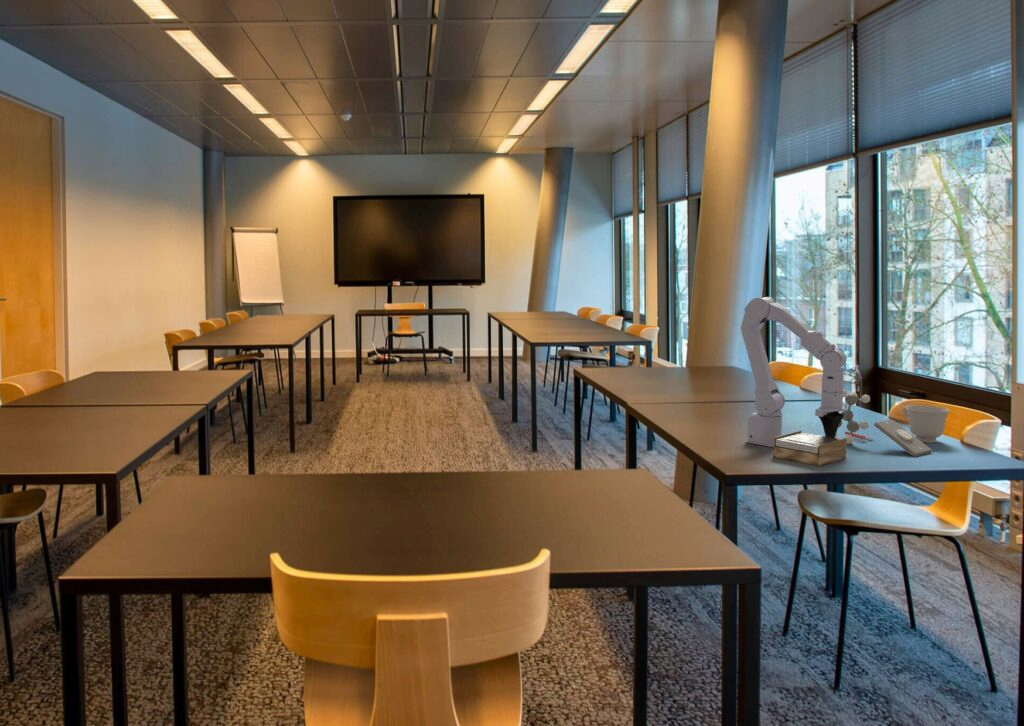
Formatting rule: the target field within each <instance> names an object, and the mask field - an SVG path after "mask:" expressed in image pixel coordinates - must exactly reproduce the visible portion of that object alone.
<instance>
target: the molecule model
mask: <svg viewBox="0 0 1024 726" xmlns="http://www.w3.org/2000/svg"><path fill="white" fill-rule="evenodd" d="M843 398H844V402H845V404H847V411H841V413H842V414H844V417H843V419H842V420H841V422H840V424H839V426H838V429H839V428H840V427H842V425H843V421H844V422H847V424H846V430H847V431H845V432H844V435H847V436H845V438H847V443H846V445H851V444H853V443H854V441H855V439H854V437H855V438H859V439H862V440H871V441H873V440H874V438H870V437H867V436H865V435H860V434H857V433H856V432H858V431H859V430H860V429H861V430H867V429H868V428H869V423H868V422H867V421H866V420H862V421H860V422H859V423H858V422H857V421H855V420H854V419H853V418H854V413H853V411H852V410H851V407H852V406H854V405H856V404H857V403H858V401H861V402H862V403H864V404H867V403H870V401H871V397H870V395H868V394H863V395H862V396H861V398H858V394H857V393H856V392H855V391H852V392H850V393H849V394H848V392H847V390H846V389H845V388H843ZM817 417H818V418H819V416H817ZM835 438H837V439H838V432H836V435H835Z"/></svg>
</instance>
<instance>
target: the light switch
mask: <svg viewBox="0 0 1024 726" xmlns="http://www.w3.org/2000/svg"><path fill="white" fill-rule="evenodd" d="M873 426H874V427H875V428H877V429H878V430H879V431H880V432H881V433H883V434H884V435H886V436H887V437H888V438H889V439H891V440H892V441H893V442H894V443H895V444H897V446H899V447H900V448H902V449H903V450H904V451H906V452H907V453H909V454H910V455H911V456H912V457H914V456H915V457H919V456H923V455H922V454H924V455H927V453H928V454H931V453H932V452H933V449H932V448H930V447H929V446H928V445H926V444H925V442H921V441H920V440H919V439H917V438H916V436H915V435H913V434H912V433H911V432H909V430H906V429H905V428H904V427H903V426H901V425H900V424H899V423H897V422H896V421H895V420H893V419H887V420H881V421H876V422H874V424H873ZM918 455H919V456H918Z"/></svg>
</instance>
